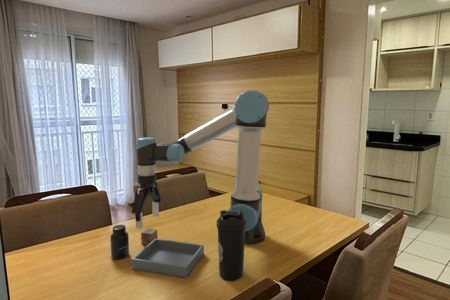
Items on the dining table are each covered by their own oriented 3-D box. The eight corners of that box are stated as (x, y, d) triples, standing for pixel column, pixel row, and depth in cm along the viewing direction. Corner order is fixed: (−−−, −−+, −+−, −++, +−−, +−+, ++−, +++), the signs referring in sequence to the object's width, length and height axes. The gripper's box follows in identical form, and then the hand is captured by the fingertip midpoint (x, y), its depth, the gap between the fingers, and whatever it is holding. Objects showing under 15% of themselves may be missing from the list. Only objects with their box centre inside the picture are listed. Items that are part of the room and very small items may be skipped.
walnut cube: (157, 240, 133) (157, 229, 132) (151, 245, 128) (151, 234, 128) (147, 238, 134) (147, 228, 134) (141, 243, 130) (141, 232, 129)
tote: (203, 254, 120) (203, 244, 120) (186, 278, 103) (186, 267, 103) (155, 247, 126) (155, 238, 125) (131, 269, 109) (131, 259, 109)
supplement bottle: (123, 260, 115) (122, 231, 114) (107, 258, 117) (105, 229, 115) (132, 252, 122) (131, 224, 120) (117, 250, 123) (115, 222, 122)
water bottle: (216, 267, 111) (215, 207, 107) (243, 265, 112) (243, 206, 108) (217, 283, 101) (217, 218, 97) (247, 281, 102) (248, 216, 98)
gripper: (153, 167, 140) (154, 211, 143) (121, 180, 116) (123, 232, 119) (168, 168, 138) (168, 212, 141) (138, 182, 114) (140, 234, 117)
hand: (147, 221), depth 130 cm, fingers open, 13 cm apart
